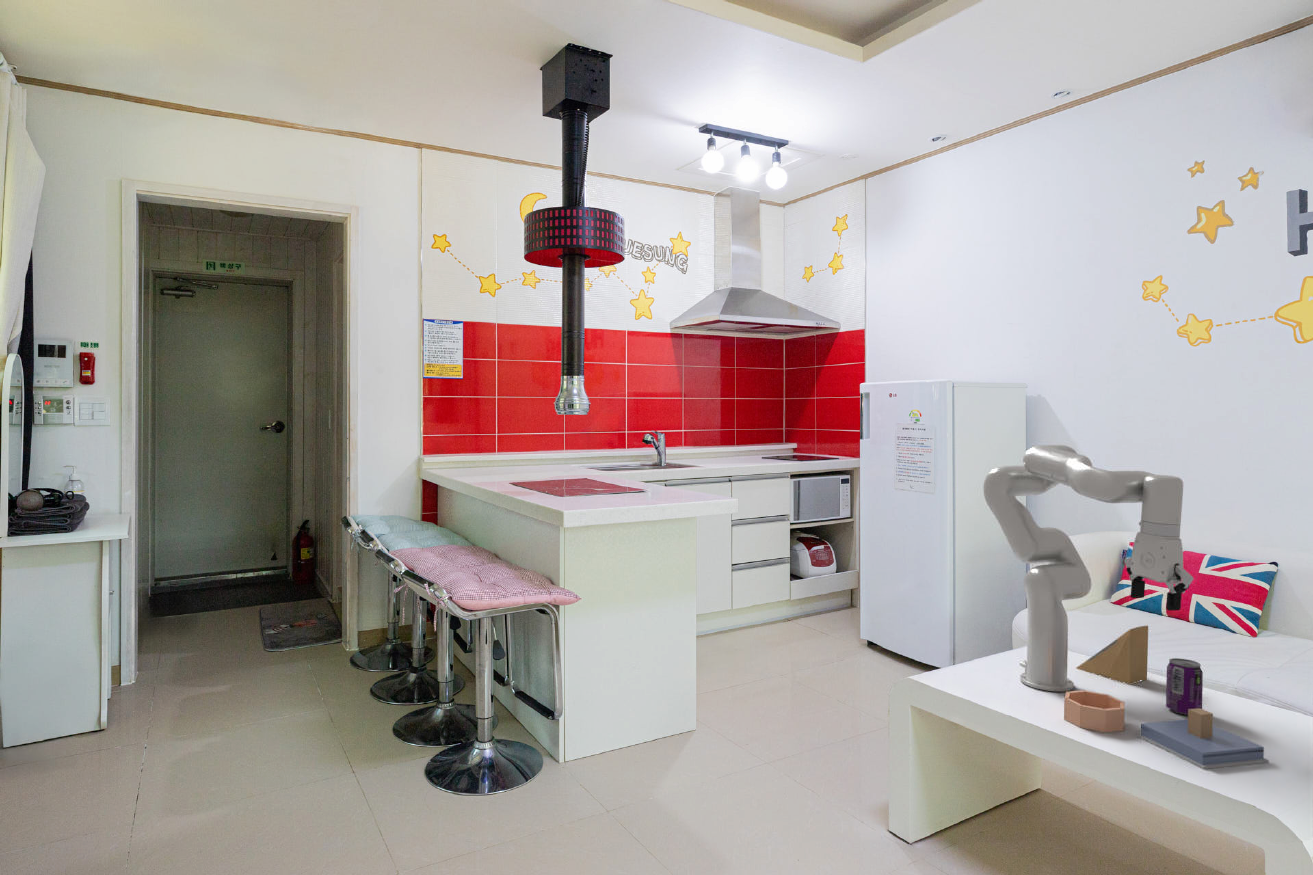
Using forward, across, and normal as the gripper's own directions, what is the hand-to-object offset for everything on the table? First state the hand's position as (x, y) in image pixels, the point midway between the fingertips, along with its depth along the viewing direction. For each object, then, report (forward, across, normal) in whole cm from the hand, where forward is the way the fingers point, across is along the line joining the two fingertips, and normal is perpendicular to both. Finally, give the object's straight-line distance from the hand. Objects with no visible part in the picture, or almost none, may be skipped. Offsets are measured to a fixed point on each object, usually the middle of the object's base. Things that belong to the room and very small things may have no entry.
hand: (1154, 603), depth 171 cm
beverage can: (+28, -4, +15) cm, 32 cm away
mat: (+27, +14, 0) cm, 31 cm away
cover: (+27, +14, 0) cm, 30 cm away
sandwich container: (+30, -31, +19) cm, 47 cm away
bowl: (+28, -3, -11) cm, 31 cm away
